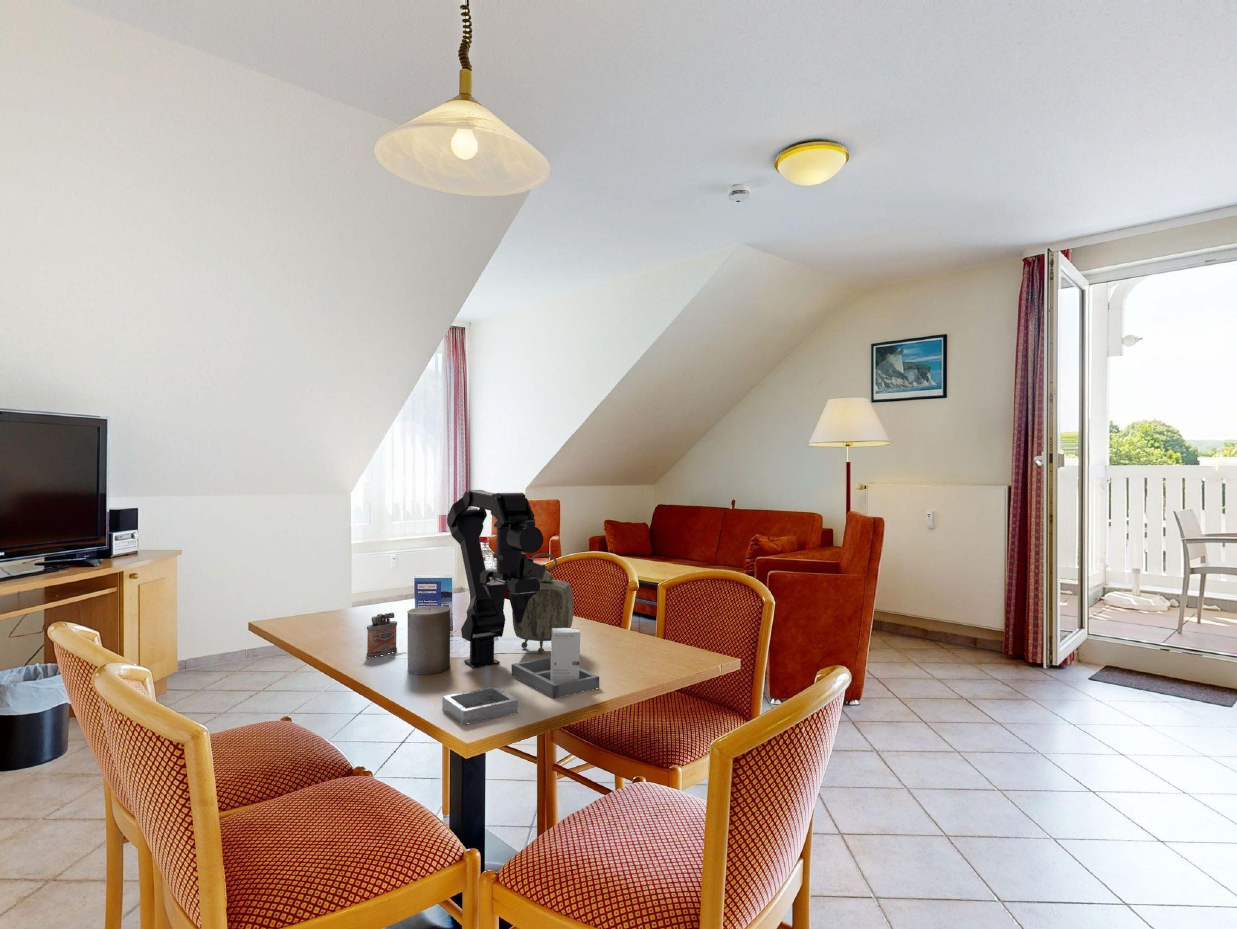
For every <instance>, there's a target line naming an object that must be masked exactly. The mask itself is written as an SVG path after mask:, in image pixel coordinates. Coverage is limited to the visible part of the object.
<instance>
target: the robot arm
mask: <svg viewBox="0 0 1237 929" xmlns="http://www.w3.org/2000/svg"><path fill="white" fill-rule="evenodd" d="M469 507H470V508H469ZM471 507H472V508H471ZM487 511H490V515H491V516H493V517H494V518H495V519H496V521H495V522H494V524H493V527H494V528H495V529H496V552H493V554H492V558H493V559H496V568H490V569H487V568H486V564H485V558H484V553H483V550H482V545H481V540H480V539H481V538H480V537H481V535H482V532H483V530H484V522H485V521H486V518H487V516H488V513H487ZM446 524H447V526H448V528H449V531H450V535H451V537H452V538H453V539H454V540H455V541H456V542H457V543H458V544H459V545H460V549H461V555H462V560H463V566H464V569H465V574H466V575H465V576H466V581H467V586H468V591H469V595H470V602H469V604H468V607H467V610H466V619H465V621H464V623H463V624H462V626H461V629H460V631H461V632H460V633H461V638H462V639H464V640H466V641H468V642H469V659H468V658H467V659H464V660H463V661H464V662H463V663H465V664H467V665H469V666H471V667H472V668H475V669H477V668H484V667H489V666H494V665H500V664H501V662H500V661H499V660H498V659H496V658H495V638H502V637H503V635H504V634H503V633H504V629H505V624H506V623H505V622H506V616H505V613H504V608H505V600H506V592H507V591H508V590H509V591H508V592H507V596H508V599H509V604H510V607H511V612H512V611H513V614H514V618H515V621H516V623H521V622H522V619H523V616H524V613H525V610H526V607H527V604H528V601H529V599H530V598H531V597H532V596H533V595H536V594H537V593H538V592H537V591H541V581H540V580H539V579H541V580H543V577H544V574H545V571H547V570H546V568H547V566H546V565H545V566H543V564H539V563H537V562H534V559H531V558H532V557H529V556H528V555H527V554H534V553H537V552H538V551H540V550H541V548H542V547H543V545H544V539H545V538H544V536H543V533H542V531H541V529H540V528H539V527H537V526H536V520H535V514H534V512H533V510H532V507H531V504H530V502H529V500H528V498H527V497H526V494H525V493H524V492H490V491H486V490H483V489H468V490H466V491H464V493H463V495H462V497H461V498H459V500H457V501H456V502H455V503H453V504H452V505H451V507H450V509H449V511H448V514H447V517H446ZM538 578H539V579H538Z"/></svg>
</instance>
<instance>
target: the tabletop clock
mask: <svg viewBox="0 0 1237 929" xmlns="http://www.w3.org/2000/svg"><path fill="white" fill-rule="evenodd" d="M538 557H548V558H551V559H552V560H553V561H554V565H551V566H548V567H547V566H546V565H545V564H543V563H542V565H543V566H546V567H547V568H546V571H545V574H544V577H543V580H541V579H539V578H538V579H539V580H540V581H541V591H537V592H538V593H537V594H536V595H533V596H532V597H531V598H530V599H529V601H528V604H527V607H526V610H525V613H524V616H523V619H522V622H521V623H516V621H515V618H514V614H513V611H512V610H511V612H512V626H513V631H514V634H515V636H516V637H517V638H519V639H521V640H524V641H523V642H521V645H520V646H521V648H522V649H527V647H528V646H529V645H528V641H536V642H539V648H538V649H537V653H538V654H539V655H543V654H544V653H545V649H544V648H543V645H544V644H543V643H544V642H551V640H552V628H572V625H573V621H574V620H573V619H574V608H575V607H574V606H575V605H574V604H575V603H574V595H573V594H574V593H573V589H572V586H571V583H569V582H567V581H565V580H561V579H560V580H558V579H554V576H553V574H552V573H551V572H549V571H550V570H552V569H553V570H554V568H555V567H557V565H558V561H557V559H556V557H555V556H554V555H552V554H550V553H537V554H534V555H532V557H530V558H531V559H533V560H534V559H535V558H538Z"/></svg>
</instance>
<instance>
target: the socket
mask: <svg viewBox="0 0 1237 929" xmlns="http://www.w3.org/2000/svg"><path fill="white" fill-rule="evenodd" d="M490 702H493V703H490ZM484 703H485V704H484ZM486 703H487V704H486ZM441 704H442V709H441V710H442V711H444V712H445V713H446V714H448V715H449V716H451V717H452V718H453V719H454V720H456V721H457V722H458V723H459V722H460V724H461V723H462V724H461V725H462V726H465V725H464V724H467V723H471V724H475V722H476V723H479V722H485V721H490V720H494V719H498V718H502V716H503V717H506V716H511V715H510V714H512V715H515V714H514V713H516V714H518V713H519V700H518V699H517V698H516V697H514V696H512V695H510V694H509V693H508V692H506V691H504V690H502V689H501V688H499V687H497V686H495V685H494V686H489V687H484V688H479V689H474V690H473V689H472V690H469V691H464V692H458V693H454V694H447V695H444V696H442V703H441ZM480 704H482V705H480ZM475 705H478V706H475ZM470 706H473V707H470ZM466 707H467V708H466ZM468 707H469V708H468ZM497 717H498V718H497ZM484 720H485V721H484ZM467 725H468V724H467Z"/></svg>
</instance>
